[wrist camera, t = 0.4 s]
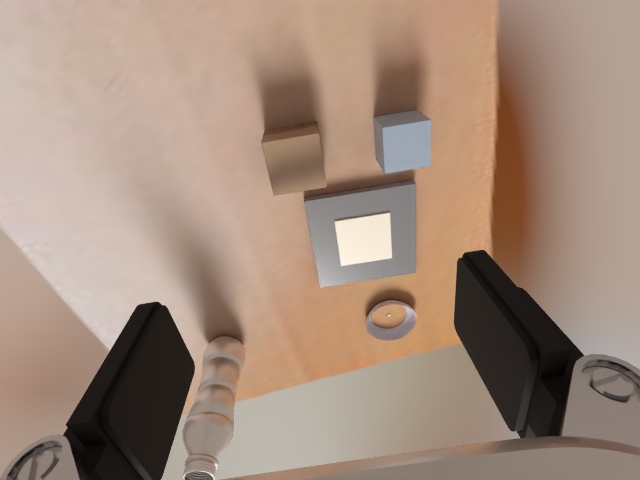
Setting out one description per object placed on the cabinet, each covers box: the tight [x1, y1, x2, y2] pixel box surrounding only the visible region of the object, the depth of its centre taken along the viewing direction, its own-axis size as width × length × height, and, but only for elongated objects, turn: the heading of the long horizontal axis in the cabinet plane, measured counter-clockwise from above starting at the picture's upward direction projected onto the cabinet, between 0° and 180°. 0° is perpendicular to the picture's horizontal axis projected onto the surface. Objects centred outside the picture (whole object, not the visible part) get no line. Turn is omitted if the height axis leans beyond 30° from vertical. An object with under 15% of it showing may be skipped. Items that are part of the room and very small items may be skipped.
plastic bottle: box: [182, 336, 245, 480], centre depth 49 cm, size 6×7×20 cm
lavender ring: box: [366, 300, 417, 340], centre depth 56 cm, size 8×8×2 cm
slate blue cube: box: [373, 110, 431, 174], centre depth 39 cm, size 5×5×5 cm
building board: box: [304, 180, 416, 287], centre depth 47 cm, size 14×14×1 cm
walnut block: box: [261, 122, 327, 196], centre depth 39 cm, size 6×6×5 cm
